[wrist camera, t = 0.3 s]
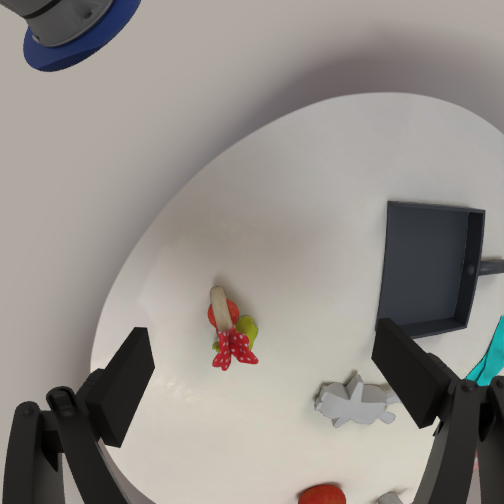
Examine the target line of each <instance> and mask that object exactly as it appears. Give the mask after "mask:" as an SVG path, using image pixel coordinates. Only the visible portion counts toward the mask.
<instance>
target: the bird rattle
mask: <svg viewBox="0 0 504 504" xmlns="http://www.w3.org/2000/svg"><path fill="white" fill-rule="evenodd" d="M210 298H211V303H212V304H211V305H210V307H209V309H208V318H209V321H210V323H211V324H212V325H213V326H214V327H216V332H217V334H218V337H219V339H218V341H217V342H215V343H214V344H213V347H212V349H216V351H217V352H219V353H218V354H217V355H216V357H215V358H214V360H213V363H212V365H213V366H214V367H221V368H222V370H223V371H226V370H227V369H228V367H229V365H230V363H231V354H233V355H234V357H236V359H237V360H238V361H239V362H242V363H248V364H257V363H258V359H257V358H256V356H255V355H254V354H253V353H252V352H251V349H252V347H253V342H254V340H255V338H256V336H257V333H258V328H257V327H256V326H255V324H254V323H253V318H251V317H250V316H242V317H241V318H240V319H239V321H238V322H237V320H238V318H239V310H238V308H237V306H236V304H235V303H234V302H233V301H231V300H229V299H226V296H225V293H224V290H223V288H222V287H220V286H216V287H213V288H211V290H210ZM236 322H237V324H236ZM235 324H236V325H235Z"/></svg>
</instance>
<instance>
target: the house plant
mask: <svg viewBox="0 0 504 504" xmlns="http://www.w3.org/2000/svg"><path fill="white" fill-rule="evenodd" d="M378 503H379V504H403V503H402V502H401V500H400V499H399V498H398V496H397V495H396V493H395V492H389V493H386V494H384V495H382V496H381V497H380V498H379V499H378Z"/></svg>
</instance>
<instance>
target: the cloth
mask: <svg viewBox="0 0 504 504" xmlns="http://www.w3.org/2000/svg"><path fill="white" fill-rule="evenodd" d="M503 367H504V316H501V319H500V321H499V324H498V326H497V329H496V331H495V334H494V337H493V340H492V343H491V346H490V348H489V350H488V352H487V353H486V355H485V356H484V358H483V359H482V361H481V362H480V363H479V364H478V365H477V366H476V367H475V368H474V369H473V370H472V371H471V373H470V374H469V375H468V376H467V377H466V379H470V380H473V381H475V382H476V383H477V384H478V385H479V386H486V385H488V384H489V383H490V382H491V380H492V378H493V377H494V376H496V375H497V374H498V373H499V372H500V371H501V369H502V368H503Z"/></svg>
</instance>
